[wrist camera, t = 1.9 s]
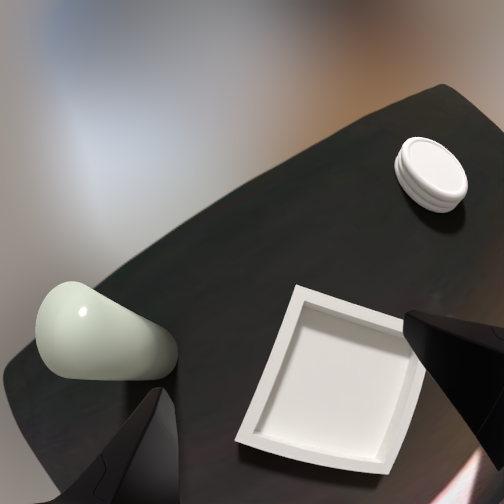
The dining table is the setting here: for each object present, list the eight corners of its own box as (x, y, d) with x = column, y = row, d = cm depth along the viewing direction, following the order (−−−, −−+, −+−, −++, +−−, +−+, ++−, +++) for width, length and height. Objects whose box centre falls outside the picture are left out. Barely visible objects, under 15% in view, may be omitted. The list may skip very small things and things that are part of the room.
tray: (376, 466, 16) (388, 474, 14) (237, 433, 19) (234, 440, 16) (419, 334, 21) (434, 329, 19) (292, 293, 24) (296, 284, 21)
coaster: (386, 147, 32) (394, 128, 28) (444, 161, 31) (454, 145, 28) (401, 208, 27) (414, 190, 24) (464, 220, 27) (478, 205, 23)
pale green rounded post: (165, 389, 20) (83, 397, 10) (119, 363, 21) (25, 345, 10) (187, 338, 22) (120, 305, 11) (139, 315, 23) (58, 267, 12)
